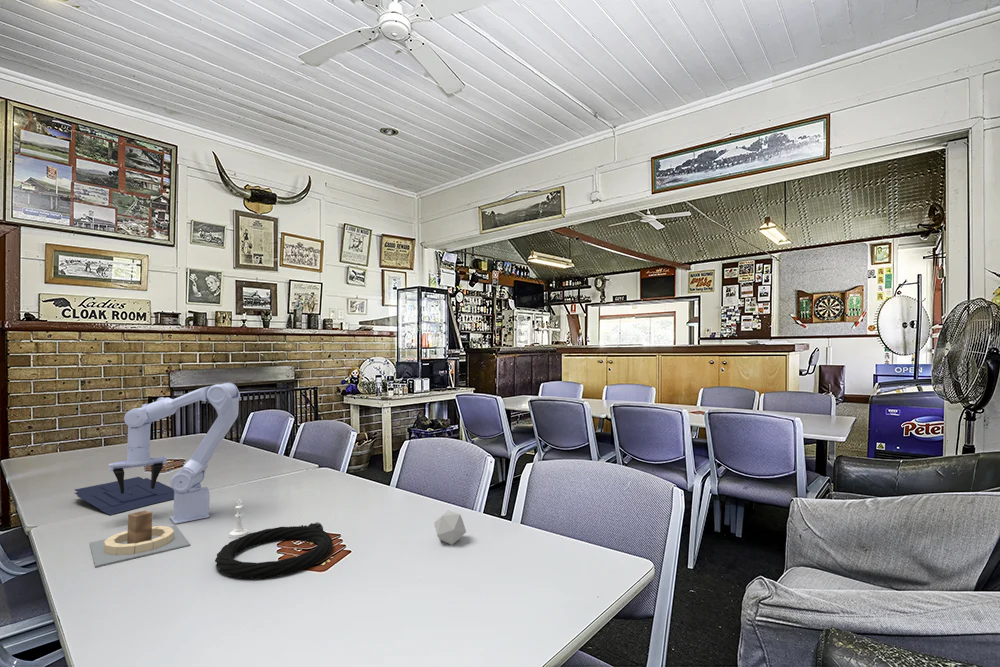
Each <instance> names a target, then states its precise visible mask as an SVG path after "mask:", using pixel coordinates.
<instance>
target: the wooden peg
mask: <svg viewBox="0 0 1000 667" xmlns="http://www.w3.org/2000/svg"><path fill="white" fill-rule="evenodd" d="M127 516H128V517H127V531H128V538H127V544H132V543H139V542H144V541H149V540H152V526H153V512H151V511H148V510H141V511H137V512H132V513H129V514H127Z"/></svg>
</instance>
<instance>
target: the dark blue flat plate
mask: <svg viewBox="0 0 1000 667" xmlns="http://www.w3.org/2000/svg"><path fill="white" fill-rule="evenodd" d="M73 490H74V491H75V492H74V494H75V495H76V497H78V498H79V499H81V500H83V501H85V502H87V503H89V504H90V505H92V506H94V507H96V508H97V509H98V510H100V511H101V512H103V513H105V514H107V515H114V514H118V513H122V512H126V511H129V510H133V509H138V508H142V507H145V506H150V505H153V504H157V503H162V502H166V501H171V500H174V490H173V489H172V487H171V486H169V485H166V484H164V483H162V482H160V481H157V480H156V483H155V487H154V489H151V478H147V477H146V478H143V477H140V476H136V477H131V478H126V479H125V478H124V493H120V486H119V483H118V480H115V481H110V482H107V483H100V484H96V485H89V486H85V487H82V488H75V489H74V488H73Z"/></svg>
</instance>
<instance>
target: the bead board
mask: <svg viewBox="0 0 1000 667" xmlns="http://www.w3.org/2000/svg"><path fill="white" fill-rule="evenodd" d="M127 538H128V530H124V531H122V532H118V533H116V534H113V535H111V536H110V537H108V538H105V539H101V540H95V541H91V542H89V546H90V550H91V556H92V560H93V564H94V568H100V567H103V566H108V565H113V564H117V563H121V562H125V561H129V560H135V559H139V558H142V557H147V556H151V555H155V554H161V553H165V552H169V551H173V550H178V549H182V548H186V547H190V546H191V543H190V542H189V541H188V539H187V537H186V536H185V535H184V534H183V532H182V531H181V530H180V528H179V527H178V526H177V525H176V524H174V525H170V526H164V525H156V526H155V525H154V526H153V525H152V540H149V541H144V542H139V543H132V544H127Z"/></svg>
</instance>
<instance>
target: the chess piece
mask: <svg viewBox="0 0 1000 667" xmlns="http://www.w3.org/2000/svg"><path fill="white" fill-rule="evenodd" d="M236 504H237V505H236V506H235V508H234V509H235V511H236V514H234V516H235V517H236V523H235V528H234V529H233V530H232V531H230V532H229V534H228V537H229V538H232V539H238V538H240V537H243V536H245V535H247V534H249V530H248V529H246V528H244V527H243V524H242V517H243V516H244V513H242V511H243V508H244V505H243V501H242V500H241V499H240V498H239V499H238V500H237V501H236Z"/></svg>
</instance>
